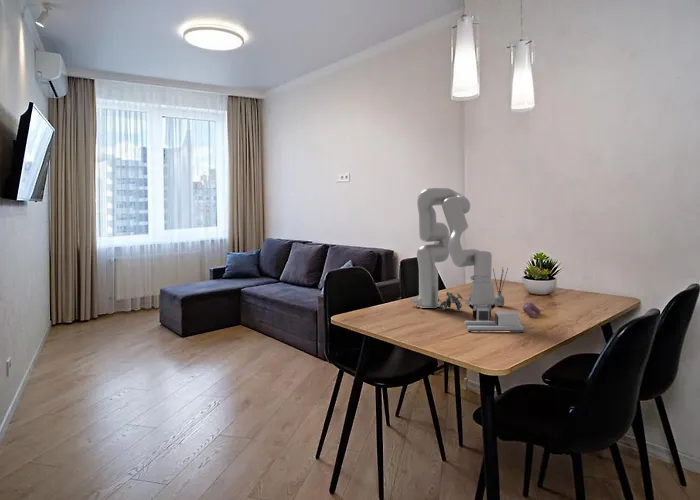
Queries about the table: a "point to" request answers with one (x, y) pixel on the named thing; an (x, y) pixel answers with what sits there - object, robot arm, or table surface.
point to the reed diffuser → (499, 296)
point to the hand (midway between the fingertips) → (481, 318)
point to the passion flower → (451, 301)
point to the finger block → (482, 313)
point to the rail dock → (498, 323)
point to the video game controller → (530, 309)
